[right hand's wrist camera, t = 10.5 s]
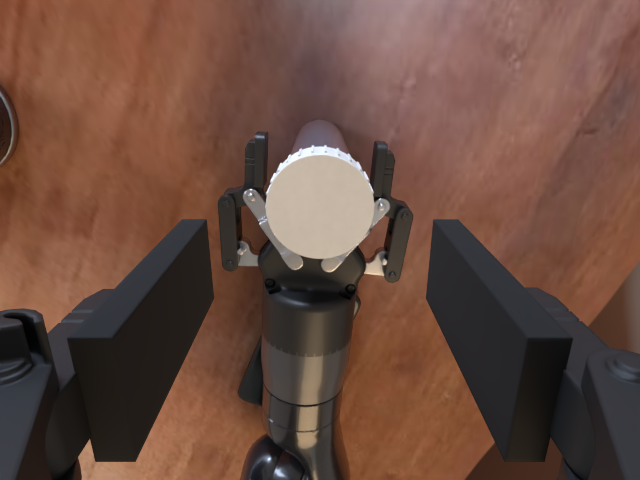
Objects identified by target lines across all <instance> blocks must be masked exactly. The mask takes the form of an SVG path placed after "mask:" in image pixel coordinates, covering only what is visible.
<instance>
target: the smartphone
mask: <svg viewBox="0 0 640 480" xmlns="http://www.w3.org/2000/svg"><path fill="white" fill-rule="evenodd" d="M360 305H361V301H360V298H359V297H358V296H357V295H356V301H355V310H354V318H355V316H356V314H357V312H358V310H359V308H360ZM354 318H353V320H354ZM261 343H262V334H261V337H260V339H259V341H258V344H257V346H256V348H255V351H254V353H253V355H252V358H251V360H250V362H249V365H248V367H247V370H246V372H245V374H244V377H243V379H242V381H241V384H240V386H239V389H238V395H239V397H240V398H241V399H242V400H244V401H247V402H250V403H253V404H256V405H259V406H262V397H263V369H262V361H261Z"/></svg>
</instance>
